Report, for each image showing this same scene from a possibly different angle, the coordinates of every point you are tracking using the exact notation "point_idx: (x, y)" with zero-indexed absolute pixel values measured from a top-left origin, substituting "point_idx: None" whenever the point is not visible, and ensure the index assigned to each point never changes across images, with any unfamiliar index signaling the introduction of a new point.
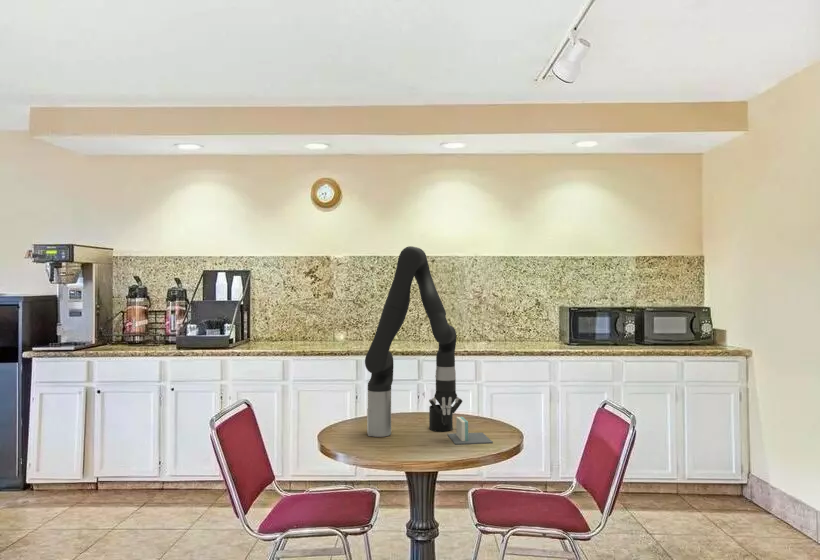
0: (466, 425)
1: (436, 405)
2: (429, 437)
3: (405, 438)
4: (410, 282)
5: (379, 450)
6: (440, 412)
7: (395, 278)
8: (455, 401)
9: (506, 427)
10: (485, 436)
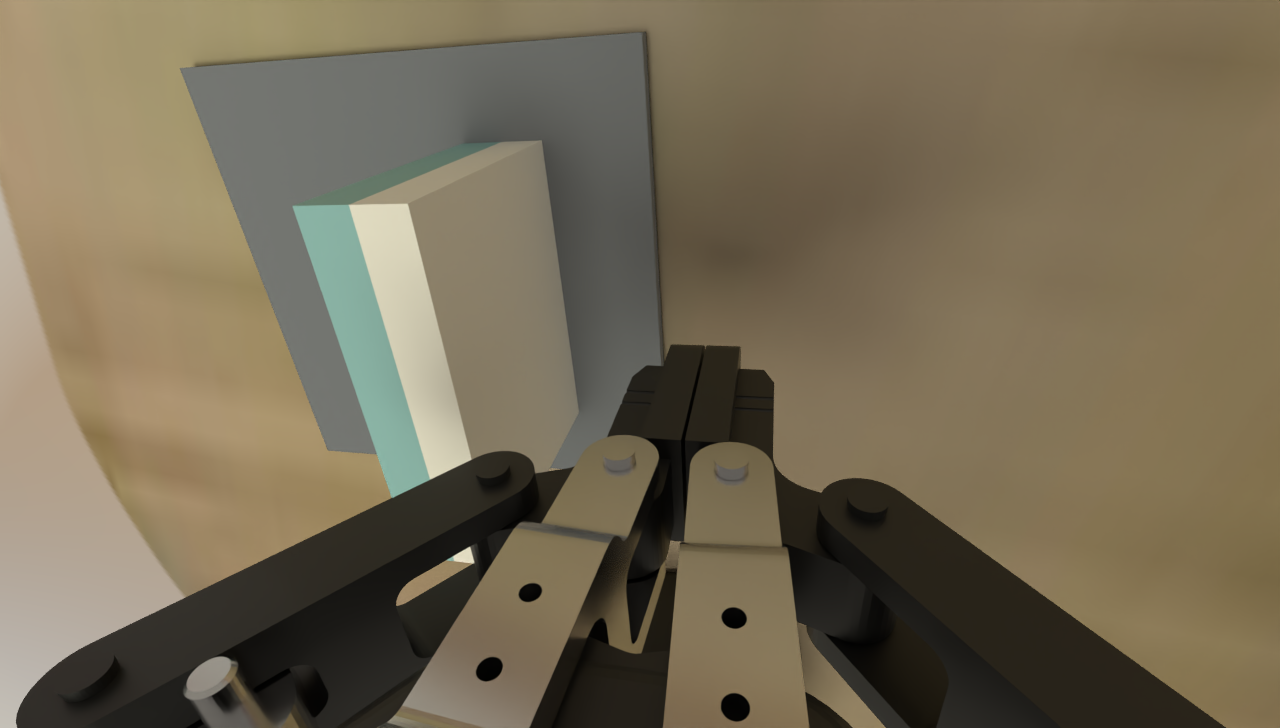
0: (363, 188)
1: (1031, 700)
2: (896, 423)
3: (1240, 439)
4: None
5: None
6: (837, 492)
7: None
8: None
9: (176, 558)
10: (285, 309)
